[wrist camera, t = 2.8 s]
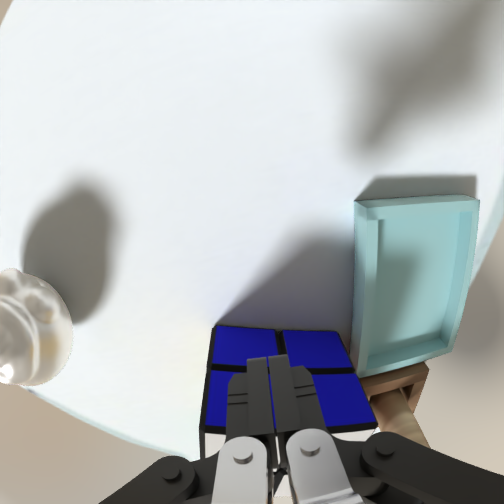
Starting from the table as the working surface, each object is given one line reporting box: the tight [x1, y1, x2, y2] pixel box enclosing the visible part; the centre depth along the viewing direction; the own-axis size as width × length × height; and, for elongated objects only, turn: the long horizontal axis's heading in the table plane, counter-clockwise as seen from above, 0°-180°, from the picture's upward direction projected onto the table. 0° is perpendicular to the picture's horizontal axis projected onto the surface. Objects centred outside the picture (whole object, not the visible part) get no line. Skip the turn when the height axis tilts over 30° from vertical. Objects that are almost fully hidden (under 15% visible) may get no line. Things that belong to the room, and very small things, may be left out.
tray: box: [349, 194, 480, 378], centre depth 20 cm, size 14×10×2 cm
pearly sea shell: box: [0, 268, 73, 386], centre depth 16 cm, size 9×9×10 cm
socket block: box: [359, 361, 429, 427], centre depth 24 cm, size 7×7×3 cm
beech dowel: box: [369, 388, 430, 448], centre depth 20 cm, size 3×3×11 cm
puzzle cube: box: [199, 325, 379, 497], centre depth 19 cm, size 10×10×10 cm
